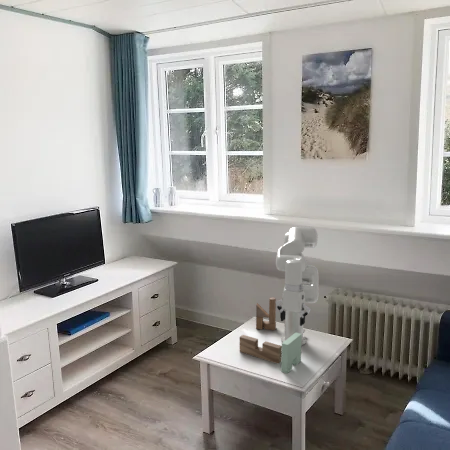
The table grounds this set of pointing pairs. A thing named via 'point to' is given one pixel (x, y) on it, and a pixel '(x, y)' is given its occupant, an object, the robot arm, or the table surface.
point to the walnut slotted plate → (261, 349)
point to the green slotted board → (291, 352)
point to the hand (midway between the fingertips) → (292, 322)
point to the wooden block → (266, 316)
